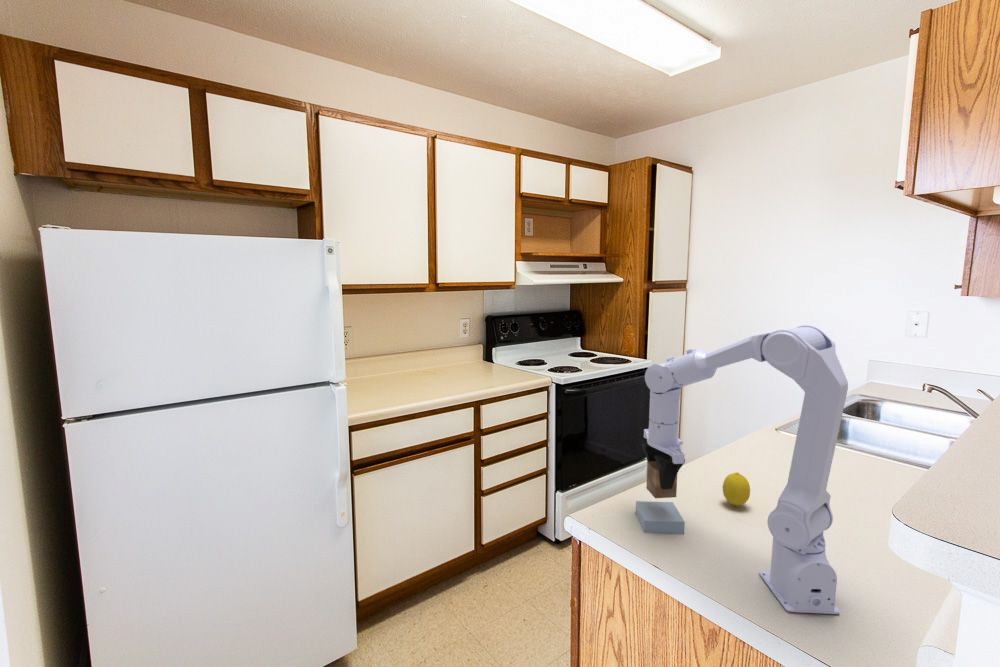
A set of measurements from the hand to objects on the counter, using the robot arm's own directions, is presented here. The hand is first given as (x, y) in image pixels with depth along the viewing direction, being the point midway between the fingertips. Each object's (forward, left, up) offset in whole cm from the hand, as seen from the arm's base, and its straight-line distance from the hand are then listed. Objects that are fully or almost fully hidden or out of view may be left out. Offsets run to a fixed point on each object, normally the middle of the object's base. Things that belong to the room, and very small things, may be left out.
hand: (661, 482), depth 97 cm
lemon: (+8, -19, -9) cm, 22 cm away
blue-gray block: (0, 0, -9) cm, 9 cm away
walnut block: (0, 0, -2) cm, 2 cm away
